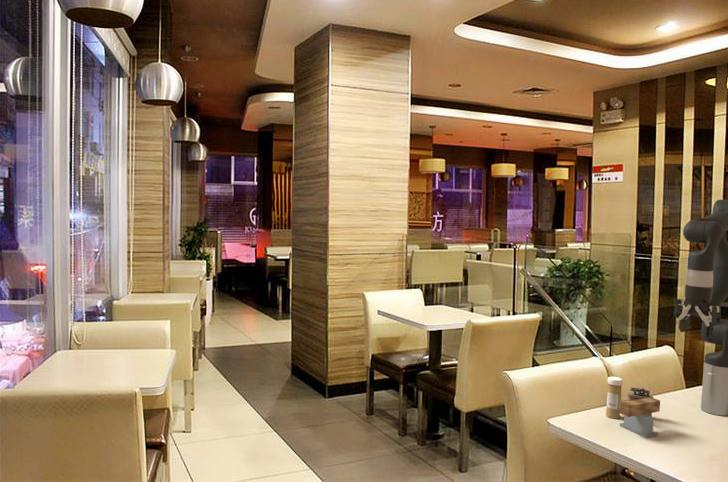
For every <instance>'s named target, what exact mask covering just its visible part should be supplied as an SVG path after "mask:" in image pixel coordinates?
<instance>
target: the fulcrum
mask: <svg viewBox="0 0 728 482" xmlns="http://www.w3.org/2000/svg"><path fill="white" fill-rule="evenodd" d="M623 417H624V418H623V422H621V423H619V427H621V428H624V429H626V430H627V431H629V432H632V433H634V434H636V435H639V436H641V437H643V438H645V439H646V438H651V437H656V436H657V435H658V433H657V432H655V431H653V430H654V419H655V417H654V416H653V415H652V416H650V415H648V414H642V415H637V416H631V417H627V416H625V415H623Z"/></svg>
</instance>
